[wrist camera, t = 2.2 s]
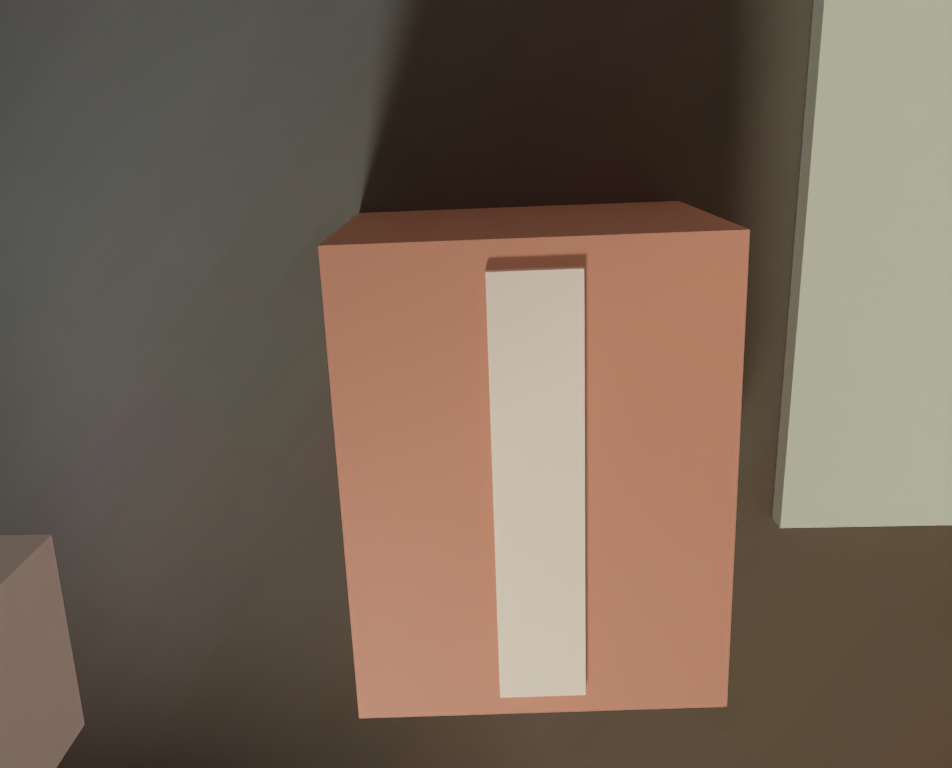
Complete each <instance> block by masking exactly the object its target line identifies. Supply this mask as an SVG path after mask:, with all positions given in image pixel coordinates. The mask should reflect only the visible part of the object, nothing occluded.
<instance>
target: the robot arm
mask: <svg viewBox="0 0 952 768" xmlns="http://www.w3.org/2000/svg"><path fill="white" fill-rule="evenodd" d="M84 725H85V723H84V717H83V711H82V706H81V700H80V694H79V689H78V683H77V677H76V671H75V666H74V660H73V654H72V648H71V643H70V637H69V631H68V626H67V620H66V614H65V608H64V603H63V597H62V591H61V586H60V580H59V574H58V568H57V563H56V557H55V551H54V546H53V540H52V535H0V768H57V766H58V765H59V763H60V762H61V760H62V759H63V757H64V755H65V754H66V752H67V751H68V749H69V748H70V746H71V745H72V743H73V742H74V740H75V739H76V737H77V736H78V734H79V732H80V731H81V729H82V728H83V726H84Z"/></svg>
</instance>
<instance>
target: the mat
mask: <svg viewBox="0 0 952 768" xmlns="http://www.w3.org/2000/svg"><path fill="white" fill-rule="evenodd" d="M772 518H773V519H774V520H775V522H776V523H777V524H778V526H779V527H780V528H814V527H872V526H931V525H952V0H814V3H813V16H812V28H811V40H810V53H809V65H808V78H807V90H806V103H805V115H804V127H803V140H802V152H801V165H800V177H799V190H798V202H797V214H796V227H795V239H794V252H793V264H792V276H791V289H790V301H789V314H788V326H787V339H786V351H785V363H784V376H783V388H782V401H781V413H780V426H779V438H778V450H777V463H776V475H775V488H774V500H773V513H772Z"/></svg>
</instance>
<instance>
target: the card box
mask: <svg viewBox="0 0 952 768" xmlns="http://www.w3.org/2000/svg"><path fill="white" fill-rule="evenodd" d="M749 241H750V229H748V228H745V227H743V226H740V225H738V224H735V223H733V222H730V221H728V220H725V219H723V218H720V217H718V216H715V215H713V214H710V213H708V212H705V211H703V210H700V209H698V208H695V207H693V206H690V205H688V204H685V203H683V202H680V201H661V202H635V203H609V204H582V205H556V206H529V207H503V208H476V209H450V210H423V211H397V212H371V213H358V214H357V215H356V216H355V217H353V218H352V219H351V220H350V221H348V222H347V223H346V224H345V225H343V226H342V227H341V228H340V229H338V230H337V231H336V232H335V233H333V234H332V235H331V236H330V237H328V238H327V239H326V240H325V241H323V242H322V243H321V244H319V245H318V252H319V263H320V275H321V286H322V298H323V309H324V321H325V332H326V344H327V355H328V367H329V378H330V390H331V401H332V413H333V424H334V436H335V447H336V459H337V470H338V482H339V493H340V505H341V516H342V528H343V539H344V551H345V562H346V574H347V585H348V597H349V608H350V620H351V631H352V643H353V654H354V666H355V678H356V689H357V701H358V712H359V718H388V717H419V716H451V715H482V714H514V713H545V712H577V711H608V710H640V709H671V708H703V707H727V692H728V672H729V651H730V631H731V610H732V590H733V569H734V549H735V528H736V508H737V487H738V466H739V446H740V425H741V405H742V384H743V364H744V343H745V323H746V302H747V282H748V261H749Z"/></svg>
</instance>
